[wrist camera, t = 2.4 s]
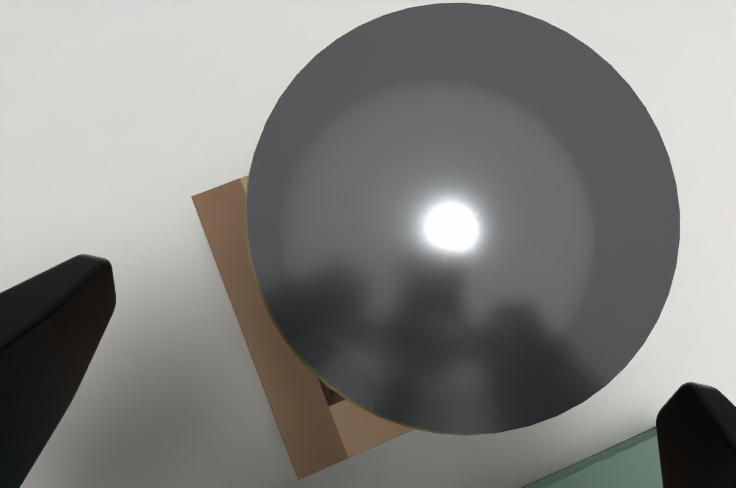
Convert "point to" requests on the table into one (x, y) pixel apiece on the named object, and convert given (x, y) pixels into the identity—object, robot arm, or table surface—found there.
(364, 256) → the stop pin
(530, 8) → the table surface
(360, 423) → the socket block
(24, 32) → the table surface
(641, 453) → the parts tray
